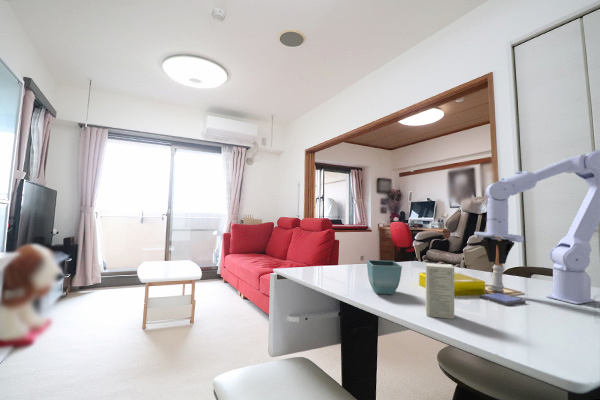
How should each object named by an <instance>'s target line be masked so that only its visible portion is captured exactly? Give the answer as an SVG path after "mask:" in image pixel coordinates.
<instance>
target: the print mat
mask: <svg viewBox="0 0 600 400" xmlns="http://www.w3.org/2000/svg"><path fill="white" fill-rule="evenodd" d="M488 287H489V285H488V284H485V294H493V293H500V294H504V295H508V296H512V297H514V296H519V295H525V292H523V291H522V290H521V291H519V290H515V289H511V288H507V287H504V289H503V290H504V292H497V291H492V290H489V289H488Z"/></svg>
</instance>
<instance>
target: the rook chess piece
mask: <svg viewBox="0 0 600 400" xmlns="http://www.w3.org/2000/svg"><path fill="white" fill-rule="evenodd" d="M491 268H492V269H493V271H492V277H491V280H490V282H488V283H487V285H489V287H488V289H489V290H492V291H497V292H504V290H503V289H504V288H505V286H504V284H503V275H504V274H503V272H504V271H505V268H504V266H503V265H500V264H493V266H492V267H491Z"/></svg>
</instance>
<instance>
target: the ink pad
mask: <svg viewBox="0 0 600 400" xmlns="http://www.w3.org/2000/svg"><path fill="white" fill-rule="evenodd" d="M479 299H482V300H484V301H485V300H486V301H488V300H489V302H492V303H495V304H499V305H502V306H505V307H511V306H518V305H523V304H524V305H525V304H526V300H525V299H522V298H519V297H514V296H508V295H504V294H500V293H493V294H488V293H485V295H479ZM517 304H518V305H517Z"/></svg>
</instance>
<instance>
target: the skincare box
mask: <svg viewBox="0 0 600 400" xmlns="http://www.w3.org/2000/svg"><path fill="white" fill-rule="evenodd" d="M454 272H455V267H454V265H453V264H451V263H450V264H449V263H447V264H445V263H434V262H433V263H432V262H431V263H430V262H425V273H426V288H425V314H426V316H427V317H434V318H443V319H451V320H454V319H455V296H454Z"/></svg>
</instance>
